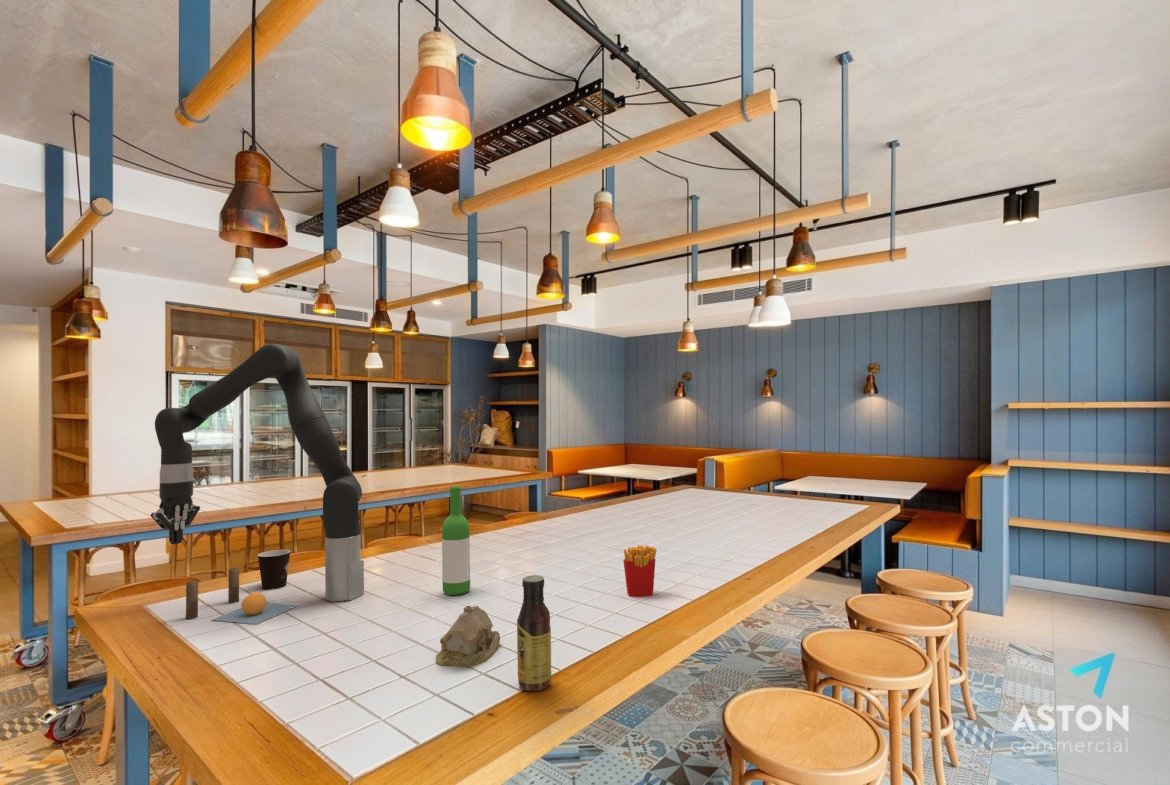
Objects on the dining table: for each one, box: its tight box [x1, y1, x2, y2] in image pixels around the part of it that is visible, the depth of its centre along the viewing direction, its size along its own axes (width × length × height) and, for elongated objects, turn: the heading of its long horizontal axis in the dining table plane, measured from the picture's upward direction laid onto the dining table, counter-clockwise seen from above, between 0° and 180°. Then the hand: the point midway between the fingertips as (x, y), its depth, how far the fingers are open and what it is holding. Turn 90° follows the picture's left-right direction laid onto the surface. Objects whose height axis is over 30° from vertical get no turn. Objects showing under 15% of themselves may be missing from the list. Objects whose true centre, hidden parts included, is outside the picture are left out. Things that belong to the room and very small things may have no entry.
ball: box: [241, 592, 267, 615], centre depth 146 cm, size 6×6×6 cm
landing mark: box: [211, 601, 299, 625], centre depth 147 cm, size 14×14×1 cm
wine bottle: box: [441, 485, 471, 596], centre depth 161 cm, size 8×8×30 cm
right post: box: [227, 567, 240, 604], centre depth 156 cm, size 2×2×9 cm
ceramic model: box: [435, 605, 501, 668], centre depth 119 cm, size 14×11×10 cm
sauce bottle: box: [516, 574, 552, 692], centre depth 104 cm, size 6×6×20 cm
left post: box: [185, 580, 199, 620], centre depth 144 cm, size 2×2×9 cm
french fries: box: [622, 544, 657, 598], centre depth 156 cm, size 9×4×13 cm, turn 100°
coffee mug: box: [257, 549, 291, 591], centre depth 172 cm, size 12×9×10 cm
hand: (176, 543), depth 154 cm, fingers closed
